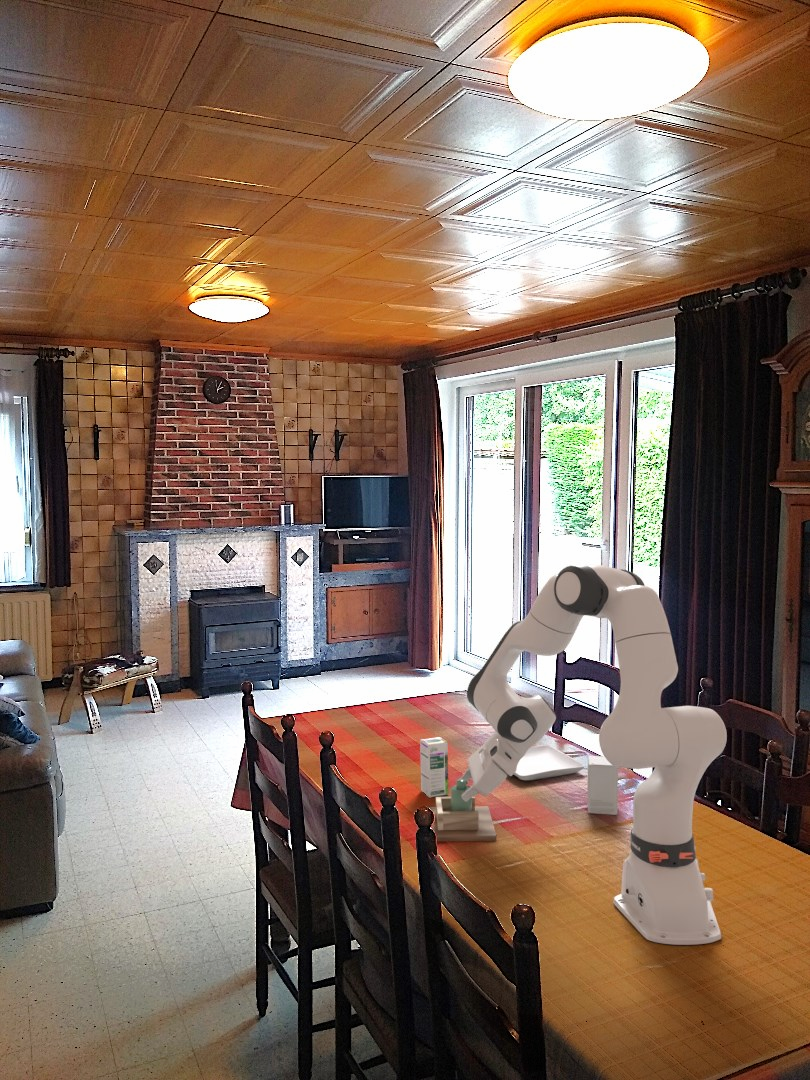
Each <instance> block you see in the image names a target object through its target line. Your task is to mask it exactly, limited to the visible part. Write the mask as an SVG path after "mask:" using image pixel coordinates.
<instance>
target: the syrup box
mask: <svg viewBox="0 0 810 1080" xmlns="http://www.w3.org/2000/svg"><path fill="white" fill-rule="evenodd" d="M419 745H420V746H419V750H420V751H419V752H420V784H421V785H420V788H421V789H420V790H421V792H422V793H423V792H424V793H425V794H426V795H425V794H424V793H423V794H424V795H425V796H427V798H429V799H431V798H436V797H443V796H448V795H449V792H450V791H449V749H448V748H449V747H448V746H449V743H448V741H447V740H446V739H444V738H442V737H440V736H437V737H431V738H425V739H424V738H423V739H422V738H421V739H419Z"/></svg>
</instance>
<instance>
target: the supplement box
mask: <svg viewBox="0 0 810 1080" xmlns="http://www.w3.org/2000/svg"><path fill="white" fill-rule="evenodd" d="M618 774H619V767H615V766H613V765H612V764H611V763H610V762H609V761H608V760H607V759H606V758H605V756H604V755H602V756H600V755H588V756H587V800H586V801H587V804H586V805H587V813H588V814H596V815H597V814H598V815H612V816H617V815H618V810H619V809H618V805H619V804H618V798H619V796H618V795H619V793H618V791H619V790H618V787H619V785H618V784H619V781H618V780H619V778H618V777H619V775H618Z"/></svg>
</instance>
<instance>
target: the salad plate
mask: <svg viewBox="0 0 810 1080" xmlns="http://www.w3.org/2000/svg"><path fill="white" fill-rule="evenodd" d="M585 767H586V765H585V764H583V763H582V762H580V761H579V760H577V759H575V758H573V757H571V756H569V755H568V754H566V753H564V752H562V751H561V750H559V749H557V748H555V747H553V746H551V745H549V744H544V745H533V746H531V747H530V748H529V749H528V750H527V752H526V754H525V755H524V756H523V757H522V758H521V759H520V760H519V762H518V765H517V769H516V772H515V773H514V774H513V775H514V776H515V777H517V778H518V779H519V780H521V781H534V780H536V781H537V780H541V779H549V778H554V777H555V778H556V777H561V776H566V775H571V774H575V773H578V772H580V771H582V770H583V769H585Z"/></svg>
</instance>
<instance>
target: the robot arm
mask: <svg viewBox="0 0 810 1080" xmlns="http://www.w3.org/2000/svg"><path fill="white" fill-rule="evenodd" d="M585 616H589V617H595V618H598V619H607V620H608V621H609V622H610V624H611V628H612V631H613V637H614V644H615V649H616V653H617V660H618V666H619V675H620V689H619V695H618V699H617V701H616V704H615V706H614V709H612V712H611V713H609V715H608V716H607V717H606V719H605V720H604V721H603V723H602V724H601V726H600V730H599V734H598V742H599V747H600V750H601V751H600V752H601V753H602V756H605V758H606V759H607V760H608V761H609V762H610V763H611V764H612V765H613V766H615V767H618V768H625V769H634V770H642V769H643V770H644V769H649V768H651V769H652V768H654V769H653V771H652V773H651V774H650V775H649V777H647V778H646V779H645V780H644V781H643V782H641V783H640V784H639V785H638V786H637V787H636V789H635V791H634V794H633V800H632V802H633V804H632V806H633V807H632V808H633V809H632V814H633V815H632V820H633V821H632V822H633V824H632V829H631V831H630V836H629V841H630V850H631V851H630V853H629V854H628V856H627V857H626V858H625V859H624V861H623V862H622V873H621V874H622V876H621V891H620V892H621V893H620V894H616V895H615V896H614V897H613V905H614V906H615V907H616V908H617V909H618V911H620V912H621V914H622V915H623V916H624V917H625V918H626V919H627V920H628V921H629V922H630V923H631V924H632V926H634V928H635V929H636V930H637V931H638V932H639V933H640V934H641V935H642V937H644V938H645V940H648V941H650V942H653V943H657V944H658V943H659V944H664V945H675V946H676V945H679V946H680V945H681V946H683V945H685V946H689V945H692V946H693V945H703V944H711V943H714V942H718V941H719V940H721V939H722V933H721V929H720V927H719V923H718V920H717V917H716V914H715V912H714V908H713V905H712V902H713V901H714V890H713V888H712V887H704V886H705V885H704V882H703V881H706V874H705V873H704V872H700V871H701V870H700V867H699V860H698V858H697V856H696V855H697V854H696V843H695V837H694V834H692V833H693V831H692V829H693V811H694V802H695V801H694V800H695V796H696V791H697V789H698V786H699V784H700V781H701V779H702V777H703V776H704V773H705V772H706V770H707V768H708V767H709V766H710V765H711V764H712V762H713V761H714V760H715V759H716V758H718V757H720V755H721V754H722V753H723V752H724V749H725V747H726V744H727V737H728V735H727V729H726V725H725V723H724V721H723V719H722V718H721V716H720V715H719V714H718V712H716V711H715V710H714V709H711V708H708V707H703V706H696V705H695V706H694V705H682V706H681V705H680V706H671V707H669V706H668V707H662V705H661V703H662V702H661V698H662V693H663V690H664V689H666V688H667V687H668V686H670V685H671V684H672V683H673V682H674V681H675V680H676V678H677V675H678V672H679V665H678V662H677V656H676V652H675V647H674V642H673V637H672V633H671V630H670V626H669V622H668V618H667V615H666V612H665V610H664V607H663V605H662V602H661V600H660V597H659V595H658V593H657V592H656V591H655V589H653V588H651V587H649V586H646V585H645V583H644V581H643V580H642V578H641V577H640V576H639V575H637V574H636V573H634V572H632V571H631V570H630V571H629V570H626V569H623V568H622V569H619V568H615V567H610V566H607V565H603V564H585V563H576V564H572V565H567V566H566V567H563V569H561V570H560V571H559V572H558V573H557V574H554V575H553V576H551V577H550V578H549V579H548V581H547V582H546V583H545V585H544V586H543V588H541V590H540V592H539V594H537V597H536V598H535V600H534V602H533V604H532V606H531V608H530V609H529V612H528V614H527V615H526V616H525V618H524V619H523V620H518V621H516V622H514V623H513V624H511V626H510V627H509V628H508V629H507V631H506V632H505V633H504V634H503V636H502V638H501V639H500V641H499V642H498V643H497V644H496V647H495V648H494V649H493V651H492V652H491V654H490V656H489V657H488V659H487V660H486V662H485V663H484V665H483V667H482V668H481V669H480V670H479V671H478V672H477V673H476V674H475V675H474V676H473V677H472V679H470V681H469V683H468V686H467V690H466V697H467V701H468V703H469V704H470V705H471V706H472V707H473V708H475V710H476V711H478V712H479V714H480V715H481V716H482V718H483V719H485V721H486V722H487V723H488V724H489V725H490V726H491V728H492V729H493V730H494V732H493V733H492V734H491V735H490V736H489V737H488V738H487V739H486V740H485V741H484V742H483V743H484V744H482V745H481V746H480V747H478V749H477V750H476V751H474V752H473V753H472V754H471V755H470V756H469V758H468V759H467V764H468V767H467V769H466V770H465V771H464V773H463V774H462V776H461V777H460V778H459V779H465V780H466V785H467V786H468V784H469V782H470V780H472V784H471V786H470V788H469V789H468V790H467V791H466V790H465V791H464V792H463V793H462V794H461V797H462V799H463V800H464V801H465V802H467V801H468V800H469V799H470V798H471V797H473V796H474V797H475V796H477V795H478V794H480V795H482V796H483V797H486V796H489V794H491V793H492V792H494V791H495V789H496V788H498V787H499V786H500V785H501V784H502V783H503V782H504V781H505V780H506V779H507V777H508V776H509V777H512V776H513V775H514V773H515V772H516V769H517V765H518V762H519V760H520V759H521V758H522V757H523V756H524V755H525V754H526V752H527V750H528V749H529V748H530V747H533V746H536V744H538V742H539V741H541V739H542V738H543V737H544V736H545V735H546V734H547V733H548V732H549V731H550V730H551V728H552V726H553V725H554V724H555V722H556V719H557V715H556V713H555V711H554V709H553V707H552V706H551V705H550V704H549V702H547V700H546V699H545V698H544V697H543V696H541V695H540V694H535V695H533V696H531V697H523V696H521V695H519V694H518V693H517V692H516V691H515V690H514V689H513V688H512V687H511V685H510V684H509V682H508V678H507V676H508V673H509V672H510V670H511V669H512V667H513V666H514V664H515V663H516V662H517V660H518V658H519V657H520V656H521V654H523V652H528V653H530V654H533V655H536V656H543V657H551V656H556V655H559V654H561V653H562V652H564V651H565V650H566V648H568V646H569V644H570V643H571V640H572V639H573V637H574V634H575V633H576V630H577V629H578V627H579V624H580V622H581V620H582V619H583V617H585Z"/></svg>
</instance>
